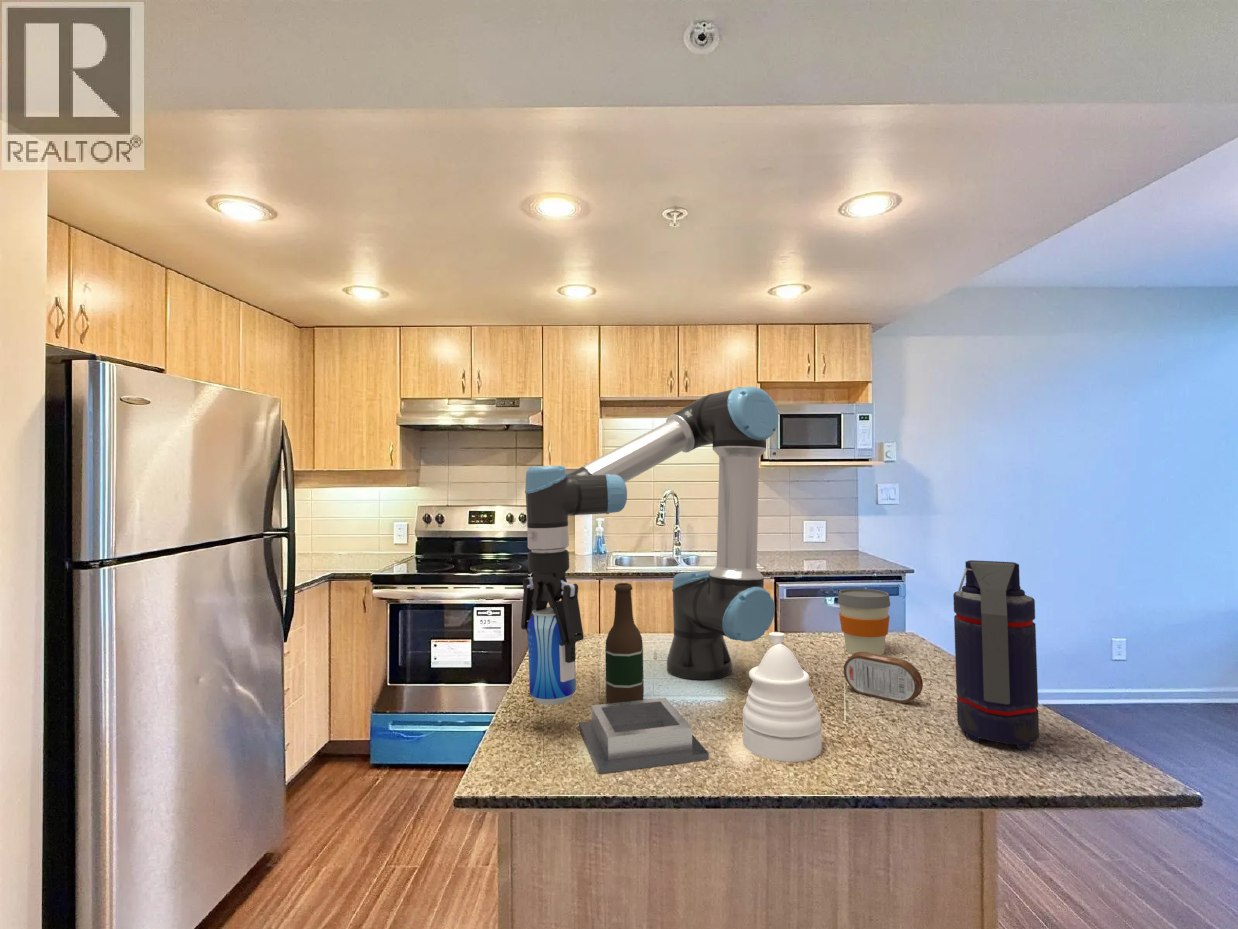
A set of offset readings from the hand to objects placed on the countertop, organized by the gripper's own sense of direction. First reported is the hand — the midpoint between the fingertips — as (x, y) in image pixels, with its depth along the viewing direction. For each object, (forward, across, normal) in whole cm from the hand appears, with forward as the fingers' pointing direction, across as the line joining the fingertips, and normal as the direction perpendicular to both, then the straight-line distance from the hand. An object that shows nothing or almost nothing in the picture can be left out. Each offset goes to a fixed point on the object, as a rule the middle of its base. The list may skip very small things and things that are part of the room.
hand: (552, 674), depth 110 cm
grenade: (+11, +58, +50) cm, 77 cm away
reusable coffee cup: (+12, +19, +85) cm, 88 cm away
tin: (+11, +36, +56) cm, 67 cm away
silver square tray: (+10, +16, +6) cm, 20 cm away
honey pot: (+11, +33, +23) cm, 42 cm away
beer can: (+5, 0, 0) cm, 5 cm away
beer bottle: (+10, +1, +17) cm, 20 cm away
